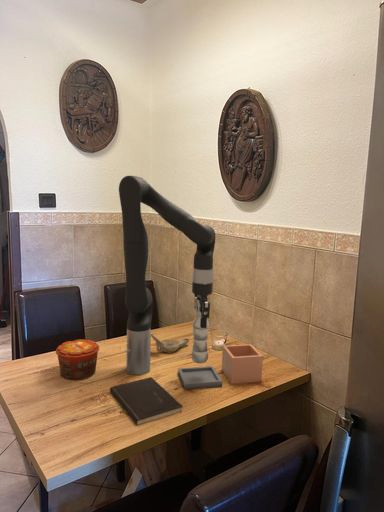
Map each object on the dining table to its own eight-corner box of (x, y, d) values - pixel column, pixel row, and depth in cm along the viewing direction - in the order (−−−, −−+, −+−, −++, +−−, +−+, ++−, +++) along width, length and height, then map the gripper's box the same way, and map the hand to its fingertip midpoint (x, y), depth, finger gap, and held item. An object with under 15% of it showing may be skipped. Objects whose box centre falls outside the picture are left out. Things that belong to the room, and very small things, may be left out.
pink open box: (231, 383, 139) (232, 358, 138) (221, 369, 151) (222, 345, 149) (261, 381, 142) (262, 356, 141) (249, 367, 154) (251, 344, 152)
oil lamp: (145, 352, 166) (146, 331, 164) (183, 342, 180) (183, 322, 178) (157, 359, 159) (157, 336, 158) (194, 347, 173) (195, 327, 172)
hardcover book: (151, 382, 139) (151, 376, 139) (182, 412, 120) (182, 406, 120) (109, 393, 131) (109, 387, 131) (136, 427, 112) (136, 420, 111)
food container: (47, 376, 141) (46, 348, 140) (78, 360, 155) (77, 336, 154) (78, 386, 134) (78, 358, 132) (108, 369, 148) (108, 343, 146)
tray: (184, 389, 134) (184, 384, 134) (178, 373, 146) (178, 368, 146) (222, 386, 137) (222, 381, 137) (212, 370, 150) (212, 365, 149)
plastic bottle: (208, 358, 144) (210, 308, 141) (207, 366, 137) (209, 313, 135) (192, 357, 144) (193, 307, 142) (190, 365, 138) (191, 312, 135)
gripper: (188, 276, 142) (187, 319, 145) (197, 285, 129) (195, 331, 131) (207, 276, 144) (205, 318, 146) (218, 284, 130) (216, 330, 133)
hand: (201, 324), depth 139 cm, fingers closed on plastic bottle, 6 cm apart
